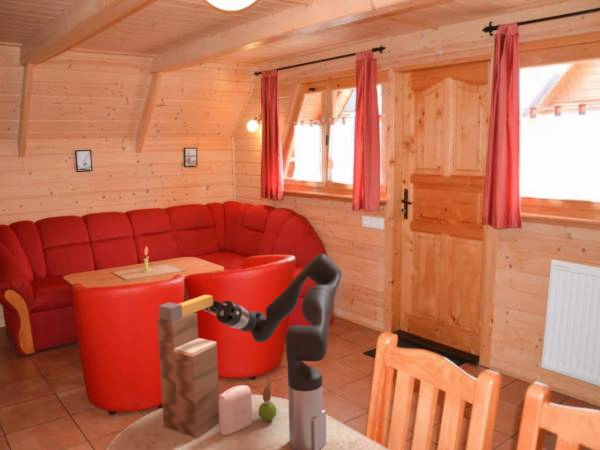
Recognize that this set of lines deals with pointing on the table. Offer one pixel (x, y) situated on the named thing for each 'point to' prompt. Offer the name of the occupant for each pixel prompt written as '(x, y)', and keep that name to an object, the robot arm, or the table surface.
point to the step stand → (188, 377)
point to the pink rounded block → (235, 409)
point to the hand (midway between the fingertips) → (203, 301)
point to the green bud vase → (267, 404)
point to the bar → (184, 308)
